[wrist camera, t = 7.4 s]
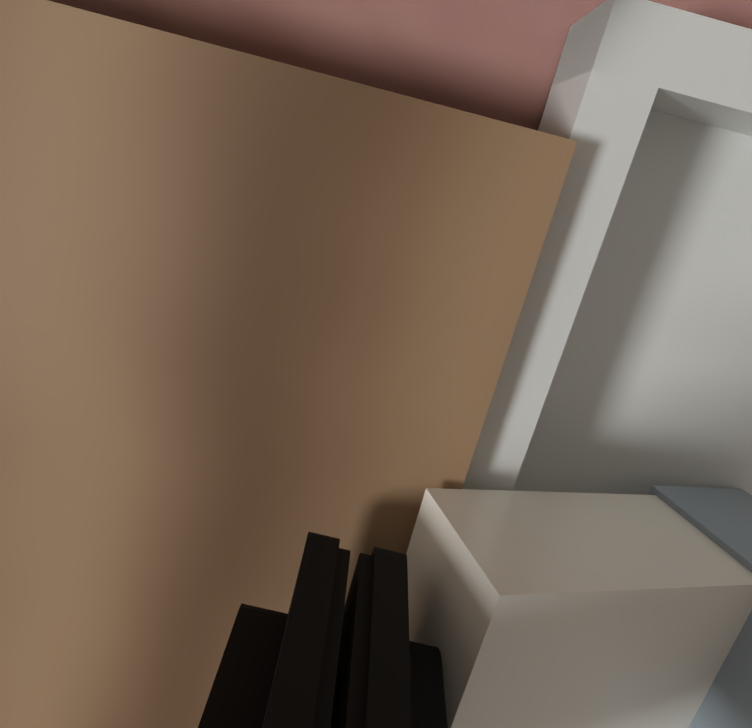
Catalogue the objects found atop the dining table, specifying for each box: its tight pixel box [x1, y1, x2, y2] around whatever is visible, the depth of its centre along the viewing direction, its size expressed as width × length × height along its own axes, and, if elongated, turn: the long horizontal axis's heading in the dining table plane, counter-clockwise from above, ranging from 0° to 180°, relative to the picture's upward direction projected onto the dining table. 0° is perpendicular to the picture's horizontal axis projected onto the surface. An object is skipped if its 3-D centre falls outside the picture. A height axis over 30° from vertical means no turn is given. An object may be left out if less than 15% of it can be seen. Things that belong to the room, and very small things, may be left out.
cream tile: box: [406, 488, 752, 728], centre depth 11 cm, size 5×5×2 cm
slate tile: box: [648, 485, 752, 728], centre depth 11 cm, size 5×5×2 cm
